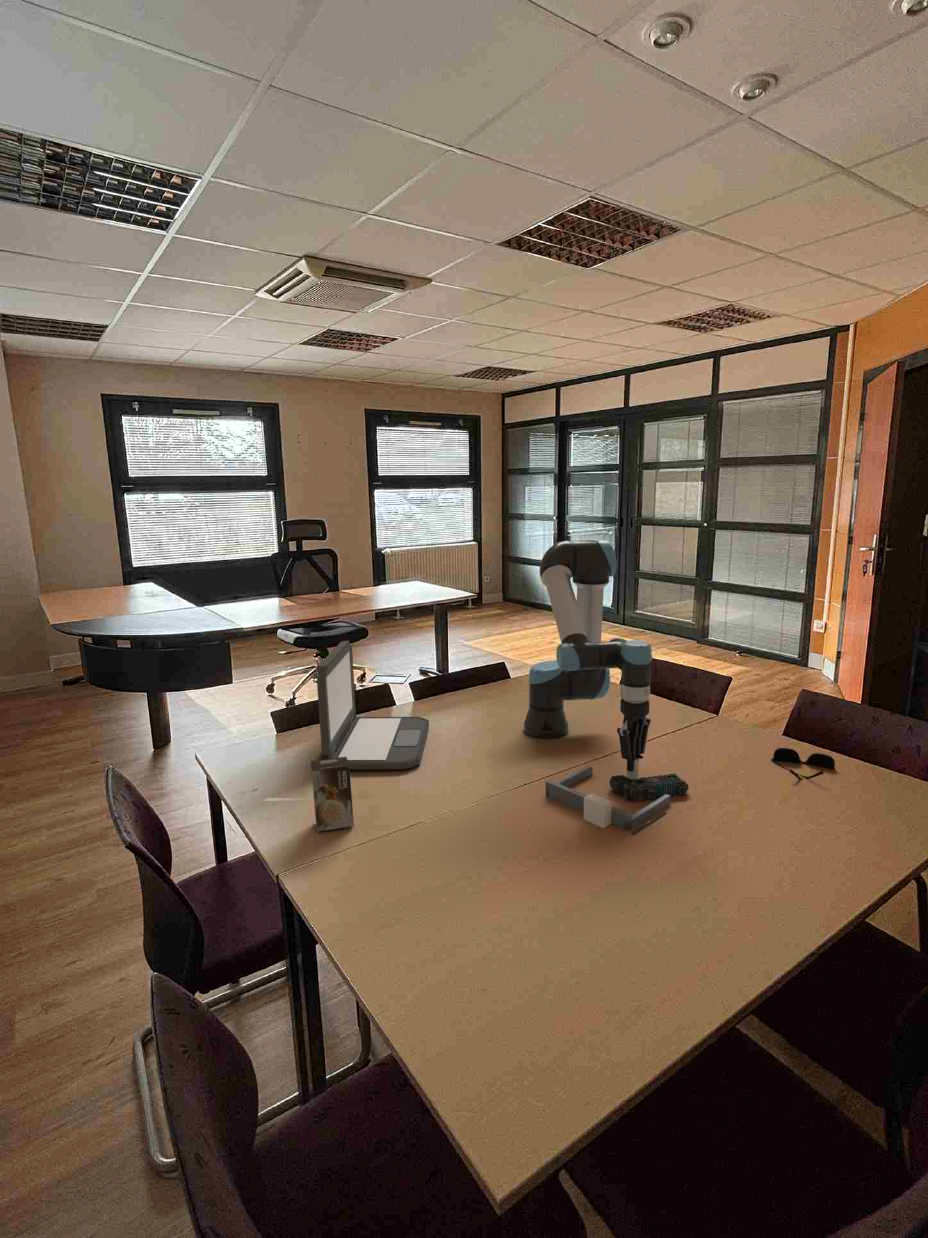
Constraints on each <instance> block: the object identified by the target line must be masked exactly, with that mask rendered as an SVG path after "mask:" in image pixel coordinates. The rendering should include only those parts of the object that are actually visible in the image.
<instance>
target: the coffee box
mask: <svg viewBox="0 0 928 1238" xmlns="http://www.w3.org/2000/svg"><path fill="white" fill-rule="evenodd" d="M310 767H311V770H310V771H311V779H312V791H313V801H314V802H313V804H314V805H313V806H314V815H315V824H316V831H317V832H325V831H331V830H335V829H342V828H343V829H344V828H350V827H354V826H355V823H354V822H355V819H354V809H353V796H352V795H353V794H352V784H351V783H352V782H351V771H350V770H351V769H349V763H348V760H347V757H339V758H331V759H324V760H317V759H316V760H310Z"/></svg>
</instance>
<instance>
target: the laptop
mask: <svg viewBox="0 0 928 1238" xmlns="http://www.w3.org/2000/svg"><path fill="white" fill-rule="evenodd" d="M353 655H354V654H353V648H352V645H351V642H350V640H343V641H340V642H339V643H338V644H337V646H335V648H333V650H332V651H331V652H329V654H327V656H326V657H325V658H324V659H323V660H322V661H321V662H320V663H319V664H318V669H317V676H316V688H317V689H316V690H317V700H318V703H317V704H318V716H319V718H318V719H319V730H320V742H321V743H320V745H321V753H320V754H319V756H318V757H317V759H316V760H324V759H331V758H339V757H347V760H348V763H349V770H406V769H411V768H414V767H417V766H420V765H421V763H422V759H423V756H424V755H423V754H424V750H425V747H426V743H427V742H426V741H427V738H428V733H429V730H430V720H429V719H427V718H424V717H421V716H357V713H356V709H357V708H356V707H357V706H356V694H355V693H356V691H355V675H354V657H353Z"/></svg>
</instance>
